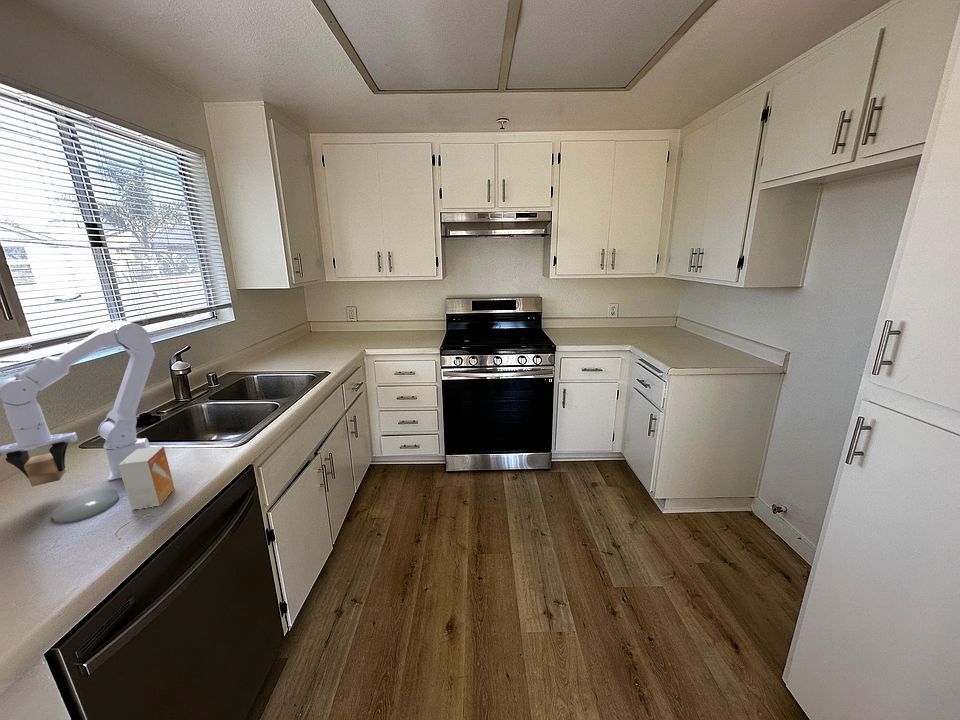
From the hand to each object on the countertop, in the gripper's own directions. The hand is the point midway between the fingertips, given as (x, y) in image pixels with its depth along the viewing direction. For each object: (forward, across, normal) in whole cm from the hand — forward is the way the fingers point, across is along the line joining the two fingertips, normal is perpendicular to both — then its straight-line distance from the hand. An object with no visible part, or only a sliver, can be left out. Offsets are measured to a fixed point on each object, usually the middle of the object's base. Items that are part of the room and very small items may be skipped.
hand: (47, 473), depth 101 cm
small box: (+8, +22, -16) cm, 28 cm away
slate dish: (+7, +8, -10) cm, 15 cm away
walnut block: (+2, 0, 0) cm, 2 cm away
